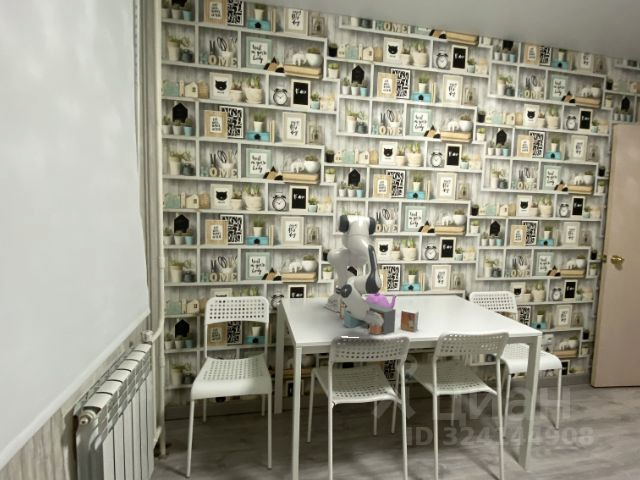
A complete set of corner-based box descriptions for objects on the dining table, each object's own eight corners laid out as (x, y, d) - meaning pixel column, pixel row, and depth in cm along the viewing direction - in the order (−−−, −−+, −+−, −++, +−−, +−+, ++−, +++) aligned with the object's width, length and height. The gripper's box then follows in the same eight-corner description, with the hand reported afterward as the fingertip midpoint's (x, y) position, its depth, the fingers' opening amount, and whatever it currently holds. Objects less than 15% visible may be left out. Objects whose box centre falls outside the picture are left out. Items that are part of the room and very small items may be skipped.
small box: (400, 329, 223) (401, 310, 222) (403, 327, 228) (404, 308, 227) (414, 332, 219) (415, 313, 218) (417, 329, 223) (418, 311, 222)
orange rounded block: (376, 334, 212) (377, 315, 211) (369, 332, 216) (370, 313, 215) (387, 331, 218) (388, 313, 217) (380, 328, 222) (381, 311, 221)
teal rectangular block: (350, 327, 222) (350, 310, 221) (343, 325, 226) (344, 307, 225) (361, 324, 228) (362, 307, 227) (354, 322, 231) (355, 305, 230)
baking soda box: (340, 316, 244) (341, 290, 242) (350, 316, 245) (351, 290, 244) (345, 321, 234) (346, 294, 233) (355, 320, 236) (357, 293, 234)
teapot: (397, 321, 238) (398, 298, 237) (360, 317, 243) (361, 295, 241) (398, 311, 260) (399, 290, 259) (364, 308, 264) (364, 287, 263)
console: (384, 334, 213) (385, 312, 212) (349, 323, 232) (350, 302, 230) (394, 331, 219) (395, 309, 218) (360, 320, 237) (361, 299, 236)
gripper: (379, 308, 199) (390, 324, 207) (349, 300, 214) (361, 315, 222) (372, 319, 197) (384, 334, 204) (343, 309, 212) (355, 324, 219)
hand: (372, 324), depth 213 cm, fingers closed, pressing on orange rounded block
